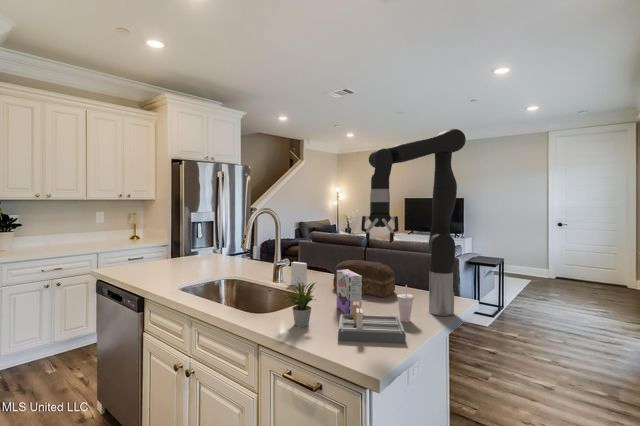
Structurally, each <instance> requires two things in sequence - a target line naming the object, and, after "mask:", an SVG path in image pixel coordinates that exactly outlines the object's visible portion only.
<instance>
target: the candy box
mask: <svg viewBox="0 0 640 426" xmlns="http://www.w3.org/2000/svg"><path fill="white" fill-rule="evenodd" d="M362 295H363V294H362V276H361V275H358V274H356V273H354V272H352V271H350V270H348V269H346V270H337V289H336V308H337V309H339V310H340V311H341V312H343V313H344V314H353V302H356V301H357V302H359V308H360V309H362V300H363V299H362Z"/></svg>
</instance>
